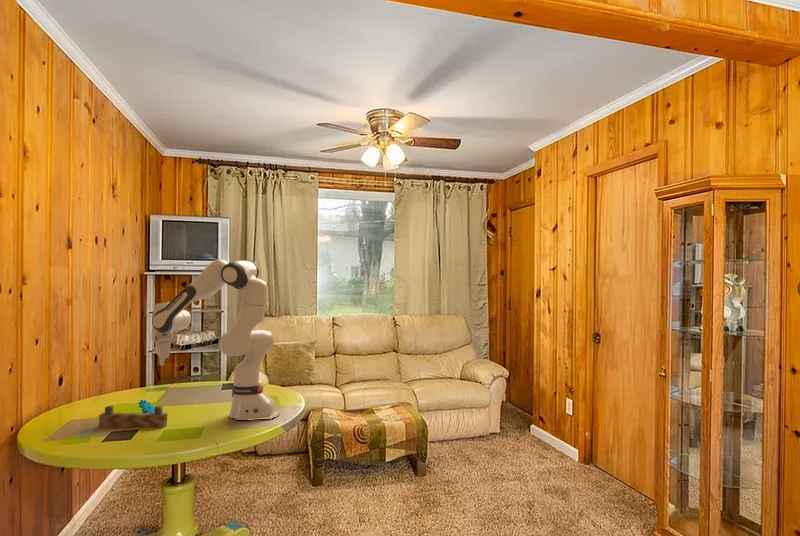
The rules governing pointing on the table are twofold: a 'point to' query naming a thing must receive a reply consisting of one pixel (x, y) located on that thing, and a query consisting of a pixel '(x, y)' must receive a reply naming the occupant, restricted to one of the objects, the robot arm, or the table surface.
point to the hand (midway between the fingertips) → (161, 365)
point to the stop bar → (133, 418)
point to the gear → (146, 407)
